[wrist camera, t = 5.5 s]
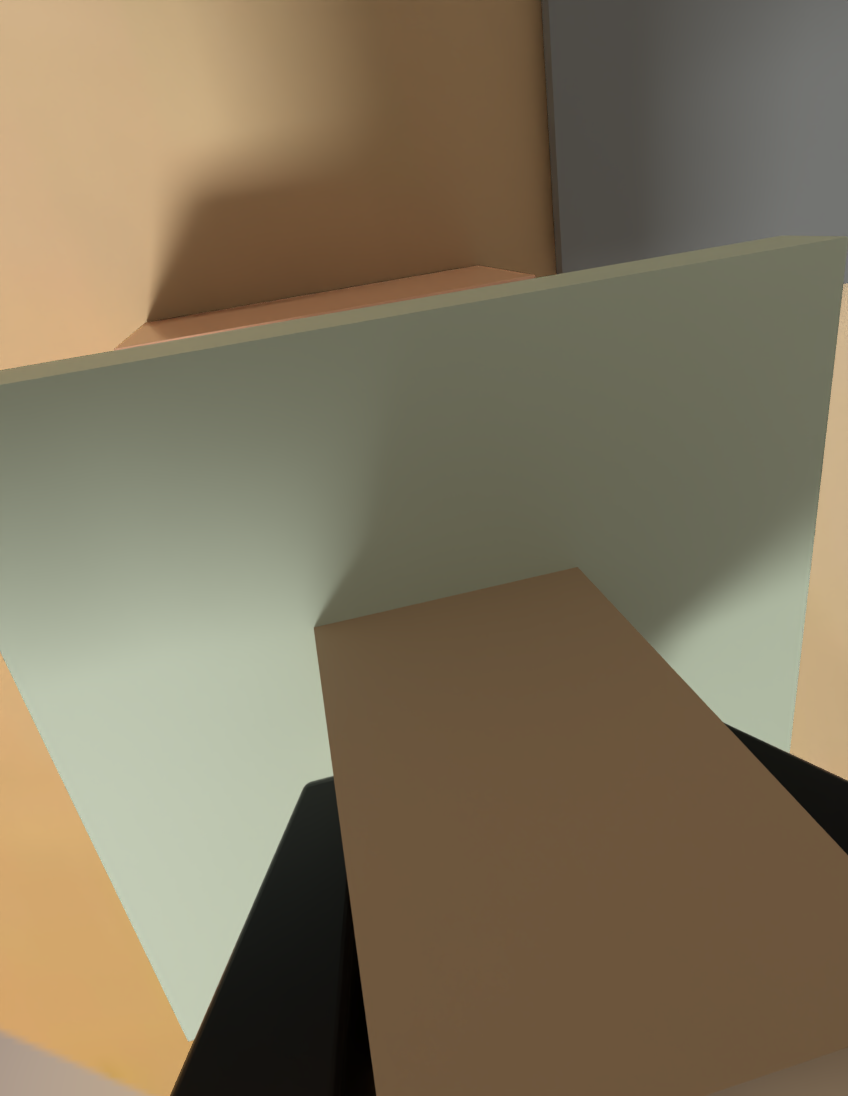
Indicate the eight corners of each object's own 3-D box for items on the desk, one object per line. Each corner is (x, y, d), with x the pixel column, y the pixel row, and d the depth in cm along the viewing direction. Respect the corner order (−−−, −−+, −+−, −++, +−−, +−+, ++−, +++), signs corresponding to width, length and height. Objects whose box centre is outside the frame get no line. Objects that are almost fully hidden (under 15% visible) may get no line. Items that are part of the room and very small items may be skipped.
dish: (478, 265, 17) (535, 275, 14) (507, 554, 21) (558, 621, 17) (145, 322, 16) (114, 349, 13) (235, 616, 20) (229, 701, 16)
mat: (1070, -356, 15) (1089, -370, 14) (961, 258, 20) (973, 259, 20) (522, -322, 13) (530, -337, 13) (560, 334, 18) (565, 336, 18)
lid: (737, 817, 12) (1132, 1304, 6) (194, 973, 11) (127, 1723, 5) (782, 235, 8) (1875, 249, 3) (-69, 382, 7) (-1316, 968, 1)
